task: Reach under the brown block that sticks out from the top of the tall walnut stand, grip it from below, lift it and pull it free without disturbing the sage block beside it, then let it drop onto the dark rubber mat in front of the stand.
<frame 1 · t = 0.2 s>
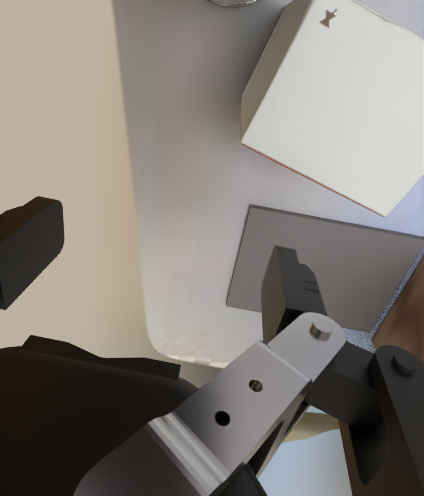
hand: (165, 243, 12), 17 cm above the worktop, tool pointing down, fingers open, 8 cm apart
small box: (308, 80, 24), on the worktop
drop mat: (315, 272, 33), on the worktop
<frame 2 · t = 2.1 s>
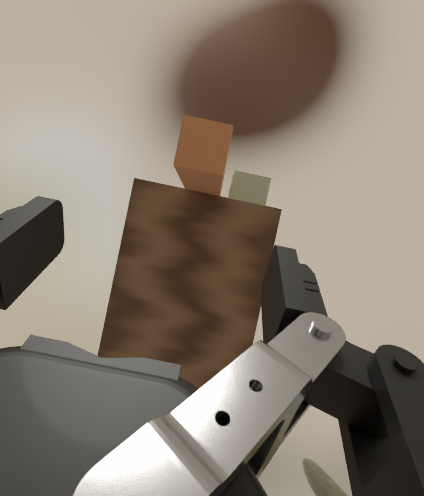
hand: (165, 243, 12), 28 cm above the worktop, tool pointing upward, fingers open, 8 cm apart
stand: (147, 493, 36), on the worktop
sage block: (243, 212, 38), point 32 cm above the worktop, touching stand
brown block: (202, 195, 31), point 32 cm above the worktop, touching stand
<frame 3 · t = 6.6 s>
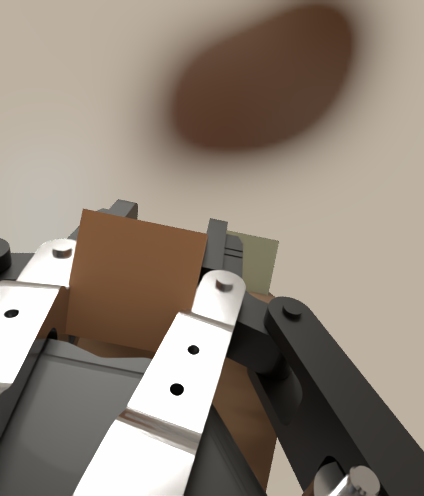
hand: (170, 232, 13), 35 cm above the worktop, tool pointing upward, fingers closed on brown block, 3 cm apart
sage block: (238, 286, 26), point 32 cm above the worktop, touching stand
brown block: (171, 286, 19), point 32 cm above the worktop, touching gripper, stand
when the fingers open (26 cm above the worktop, at t = 13.6 s): brown block drops 21 cm and tips over, resting on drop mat.
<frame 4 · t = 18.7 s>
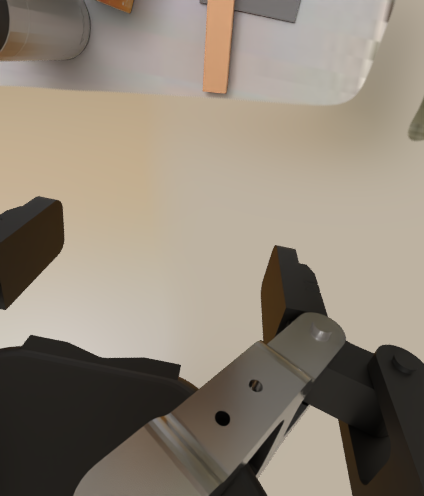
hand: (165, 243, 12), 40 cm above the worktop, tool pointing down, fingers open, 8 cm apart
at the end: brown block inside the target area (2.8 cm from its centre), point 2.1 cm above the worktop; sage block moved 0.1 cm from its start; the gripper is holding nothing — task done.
